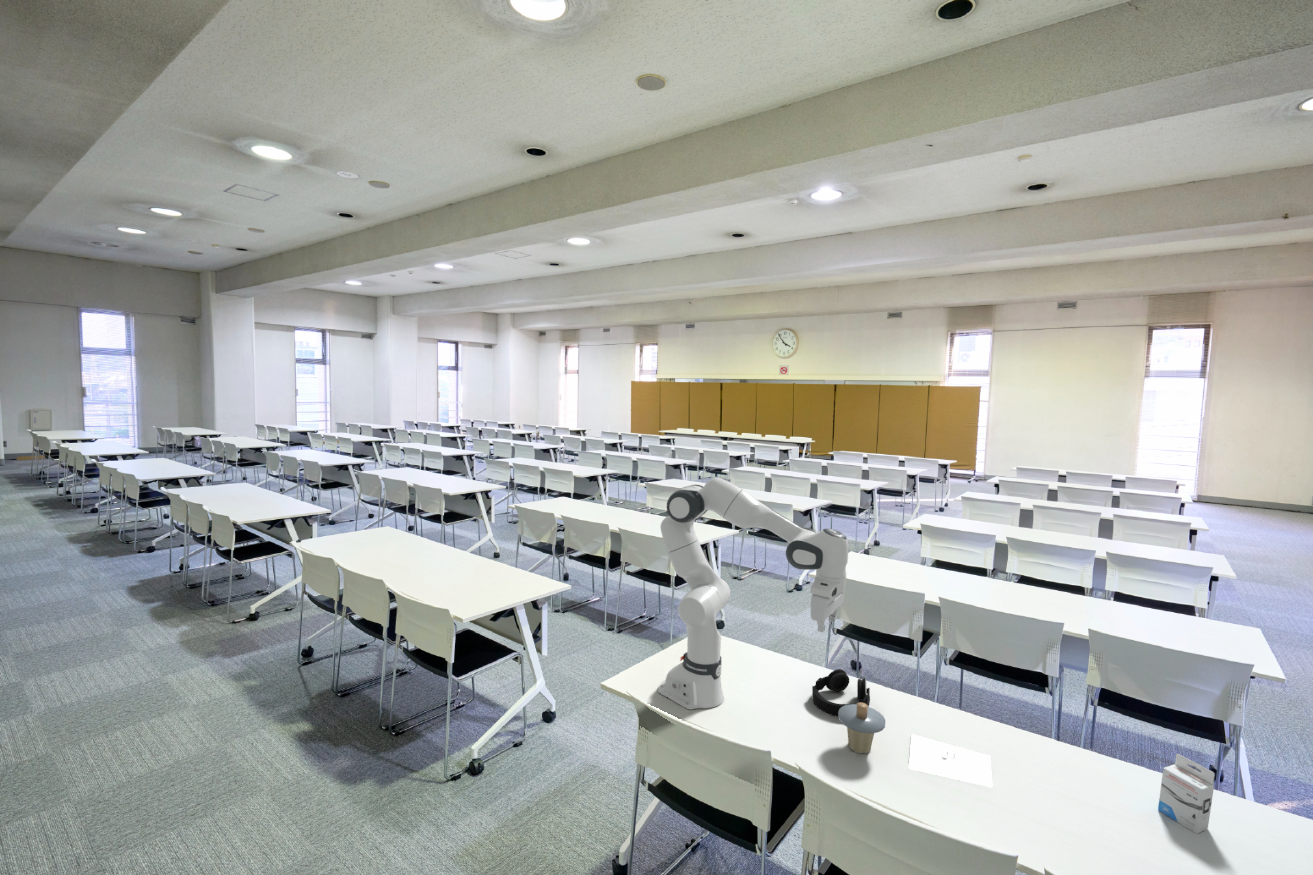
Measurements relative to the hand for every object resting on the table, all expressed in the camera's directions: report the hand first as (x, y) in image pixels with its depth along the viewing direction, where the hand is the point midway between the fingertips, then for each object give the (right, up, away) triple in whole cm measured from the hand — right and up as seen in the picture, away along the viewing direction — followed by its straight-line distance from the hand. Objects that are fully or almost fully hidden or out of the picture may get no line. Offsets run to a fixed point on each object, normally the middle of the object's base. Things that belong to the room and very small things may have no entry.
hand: (826, 625), depth 183 cm
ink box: (+79, -38, -35) cm, 94 cm away
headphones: (+9, -31, +16) cm, 36 cm away
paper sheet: (+28, -35, -19) cm, 49 cm away
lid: (+8, -25, -9) cm, 27 cm away
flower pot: (+7, -33, -8) cm, 35 cm away
